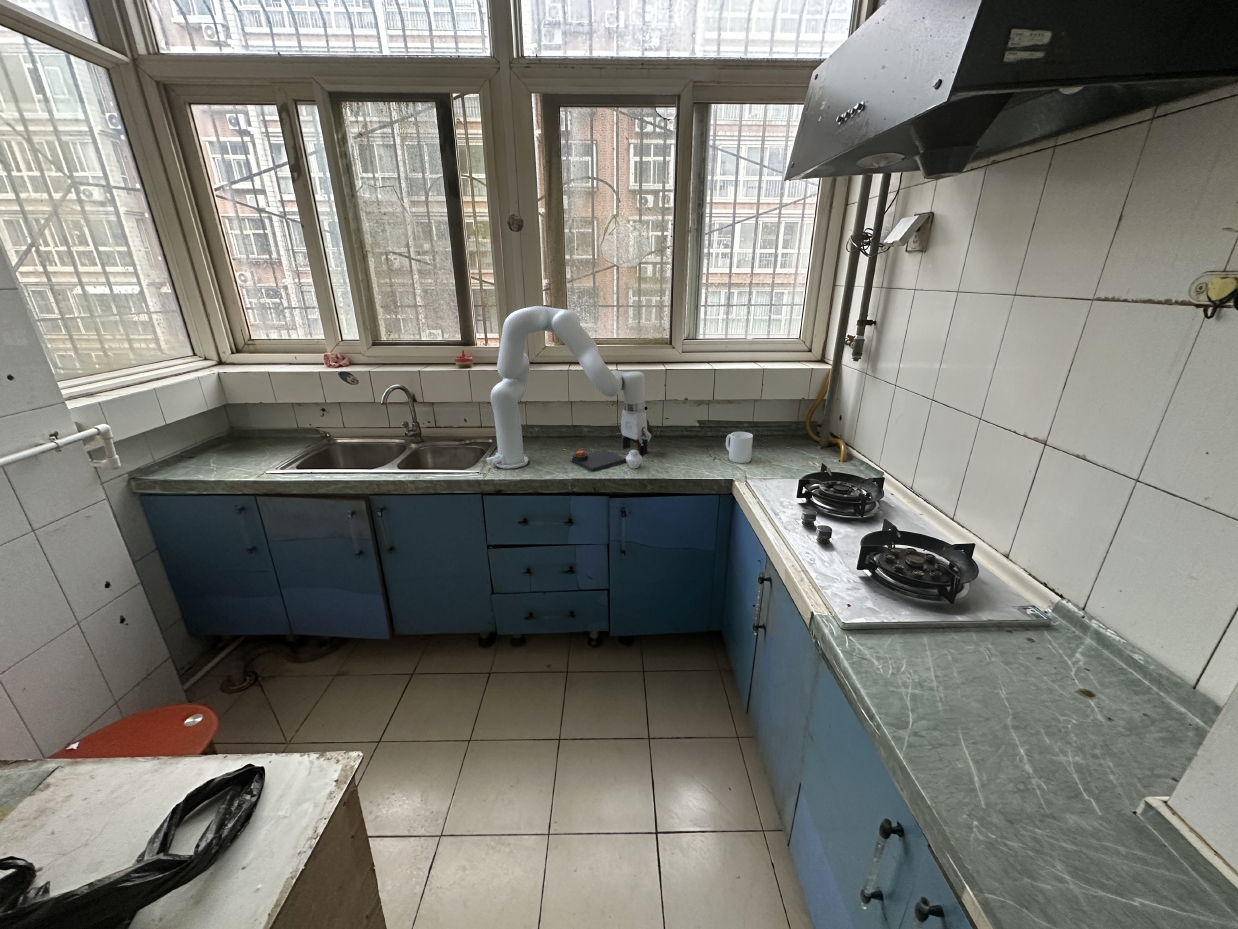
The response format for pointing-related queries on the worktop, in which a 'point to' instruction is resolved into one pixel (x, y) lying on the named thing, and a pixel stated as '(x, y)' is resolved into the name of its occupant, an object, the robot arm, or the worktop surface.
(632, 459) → the muffin
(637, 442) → the ice cream bowl
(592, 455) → the scale
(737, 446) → the cup
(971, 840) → the worktop surface
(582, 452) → the button
